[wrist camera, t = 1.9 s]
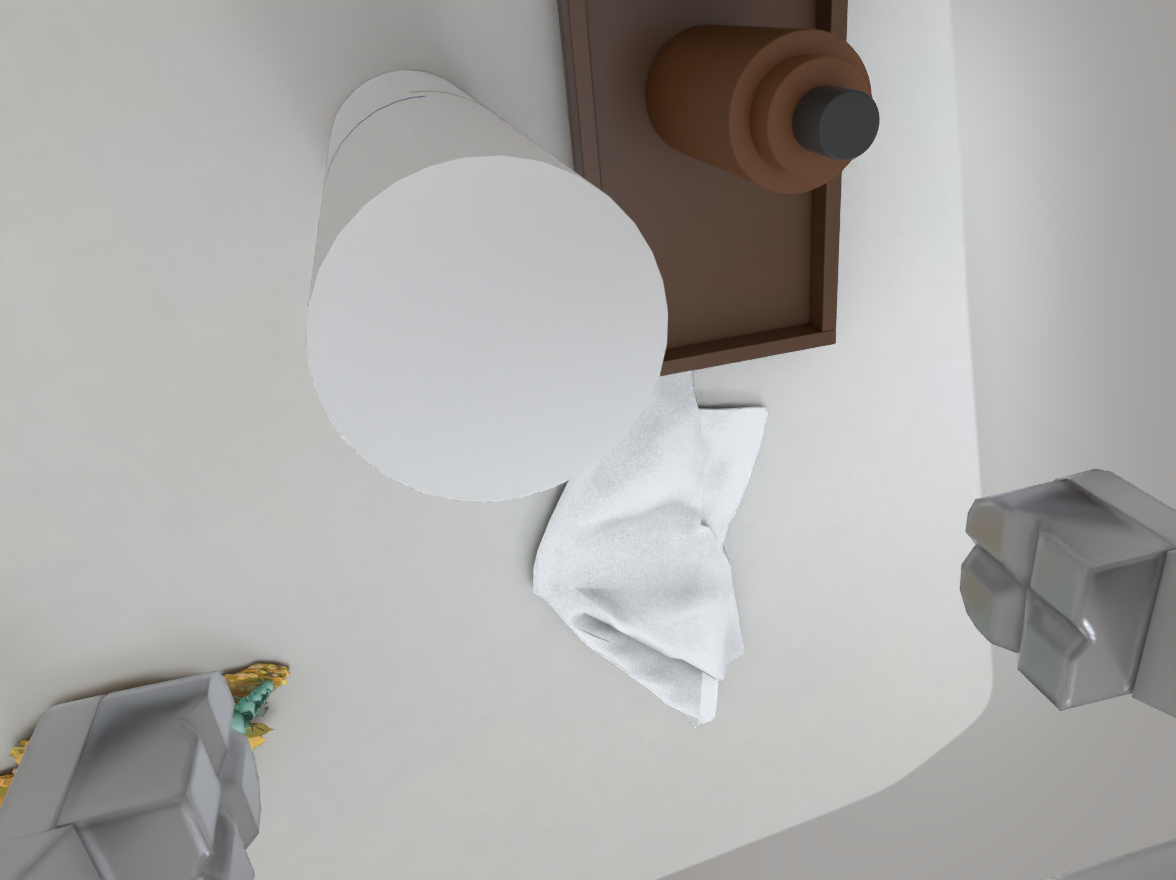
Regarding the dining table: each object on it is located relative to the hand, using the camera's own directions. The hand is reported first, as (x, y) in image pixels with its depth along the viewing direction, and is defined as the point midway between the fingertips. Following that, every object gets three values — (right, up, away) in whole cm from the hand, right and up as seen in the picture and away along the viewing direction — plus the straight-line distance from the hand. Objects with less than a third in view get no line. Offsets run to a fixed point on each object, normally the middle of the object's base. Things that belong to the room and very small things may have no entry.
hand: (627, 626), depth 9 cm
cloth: (+3, -5, +42) cm, 42 cm away
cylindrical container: (-8, +15, +30) cm, 34 cm away
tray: (+5, +18, +32) cm, 37 cm away
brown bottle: (+5, +18, +31) cm, 36 cm away
